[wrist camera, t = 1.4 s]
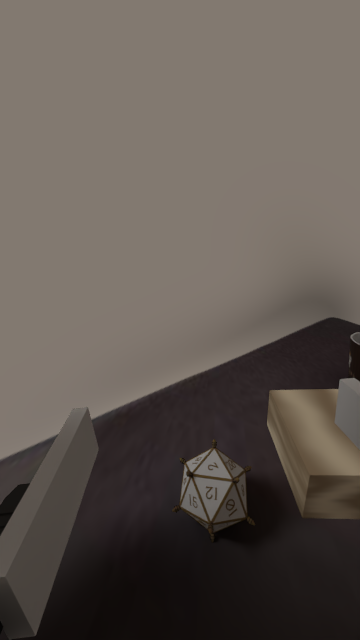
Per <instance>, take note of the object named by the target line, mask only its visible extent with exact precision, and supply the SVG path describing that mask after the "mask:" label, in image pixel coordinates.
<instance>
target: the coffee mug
mask: <svg viewBox="0 0 360 640" xmlns="http://www.w3.org/2000/svg"><path fill="white" fill-rule="evenodd" d="M349 378H355V379H357V380H358V381H359V382H360V332H358V333H354V334H352V335H351V338H350V358H349Z"/></svg>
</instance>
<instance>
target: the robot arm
mask: <svg viewBox="0 0 360 640" xmlns="http://www.w3.org/2000/svg"><path fill="white" fill-rule="evenodd" d="M335 424H336V425H337V426H338V427H339V428H340V429H341V430H342V431H343V432H344V433H345V435H346V436H347V437H348V438H349V439H350V440H351V441H352V442H353V443H354V444H355V445H356V447H357V448H358V449H359V450H360V382H359V381H358V380H357V379H355V378H348V379H340V382H339V390H338V398H337V406H336V415H335ZM98 450H99V449H98V445H97V441H96V437H95V433H94V429H93V425H92V421H91V418H90V414H89V410H88V407H86V408H77V409H73V410H72V412H71V413H70V415H69V417H68V419H67V420H66V422H65V424H64V426H63V427H62V429H61V431H60V432H59V434H58V436H57V438H56V439H55V441H54V443H53V445H52V446H51V448H50V450H49V452H48V453H47V455H46V457H45V459H44V460H43V462H42V464H41V466H40V467H39V469H38V471H37V473H36V474H35V476H34V478H33V480H32V481H31V483H29V484H20V485H18V486H17V487H16V488H15V489H14V490H13V491H12V492H11V493H10V494H9V495H8V496H7V497H6V498H5V499H4V500H3V502H2V504H1V505H0V633H1V631H2V629H3V630H4V631H5V633H6V635H7V636H8V638H9V639H15V638H23V637H31V636H36V634H37V631H38V628H39V625H40V622H41V619H42V616H43V613H44V610H45V607H46V604H47V601H48V598H49V595H50V592H51V589H52V586H53V583H54V580H55V577H56V574H57V571H58V568H59V565H60V562H61V559H62V556H63V553H64V550H65V548H66V545H67V542H68V539H69V536H70V533H71V530H72V527H73V524H74V521H75V518H76V515H77V512H78V509H79V506H80V503H81V500H82V497H83V494H84V491H85V488H86V485H87V482H88V479H89V476H90V473H91V470H92V467H93V464H94V462H95V459H96V456H97V453H98Z"/></svg>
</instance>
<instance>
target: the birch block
mask: <svg viewBox="0 0 360 640" xmlns="http://www.w3.org/2000/svg"><path fill="white" fill-rule="evenodd" d="M338 390H339V389H316V390H270V393H269V406H268V418H267V425H268V428H269V431H270V433H271V436H272V439H273V441H274V444H275V447H276V449H277V452H278V455H279V457H280V460H281V463H282V465H283V468H284V471H285V473H286V476H287V479H288V481H289V484H290V487H291V489H292V492H293V495H294V497H295V500H296V503H297V505H298V508H299V511H300V513H301V516H302V518H330V519H360V450H359V449H358V448H357V447H356V445H355V444H354V443H353V442H352V441H351V440H350V439H349V438H348V437H347V436H346V435H345V433H344V432H343V431H342V430H341V429H340V428H339V427H338V426H337V425H336V424H335V415H336V406H337V398H338Z"/></svg>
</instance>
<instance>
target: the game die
mask: <svg viewBox="0 0 360 640" xmlns="http://www.w3.org/2000/svg"><path fill="white" fill-rule="evenodd" d="M216 443H217V442H216V441H215V439H214V440H213V442H212V445H213V448H211V449H209V450H207V451H205V452H203V453H202V454H200V455H198V456H196V457H194V458H192V459H190V460H189V461H187V462H186V461H185V459H184V458H180V462H182V464H184V472H183V480H182V488H181V495H180V503H179V506H177V505H176V506H174V509H173V510H172V511H173V512H176V513H177V511H179V510H180V509H182V510H183V511H184V512H185V513H187V514H188V515H189V516H191V517H192V518H193V519H194V520H196V521H197V522H198V523H200V524H201V525H202V526H203V527H205V528H206V529H207V530H208V532H209V533H210V539H211V541H212V543H213V541H214V540H215V534H214V533H215V532H217V531H220V530H222V529H224V528H227V527H229V526H231V525H234V524H236V523H239V522H241V521H243V520H247V521H248V522H249V523H250V525H255V523H254V521H253V519H251V517H248V515H247V490H246V472H247V471H250V469H251V466H247V467H246V468H245V469H244V468H242V467H241V466H240V465H238V464H237V463H236V462H234V461H233V460H232V459H230V458H229V457H228V456H226V455H225V454H224V453H222V452H221V451H220V450H218V449H217V448H216Z"/></svg>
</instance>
